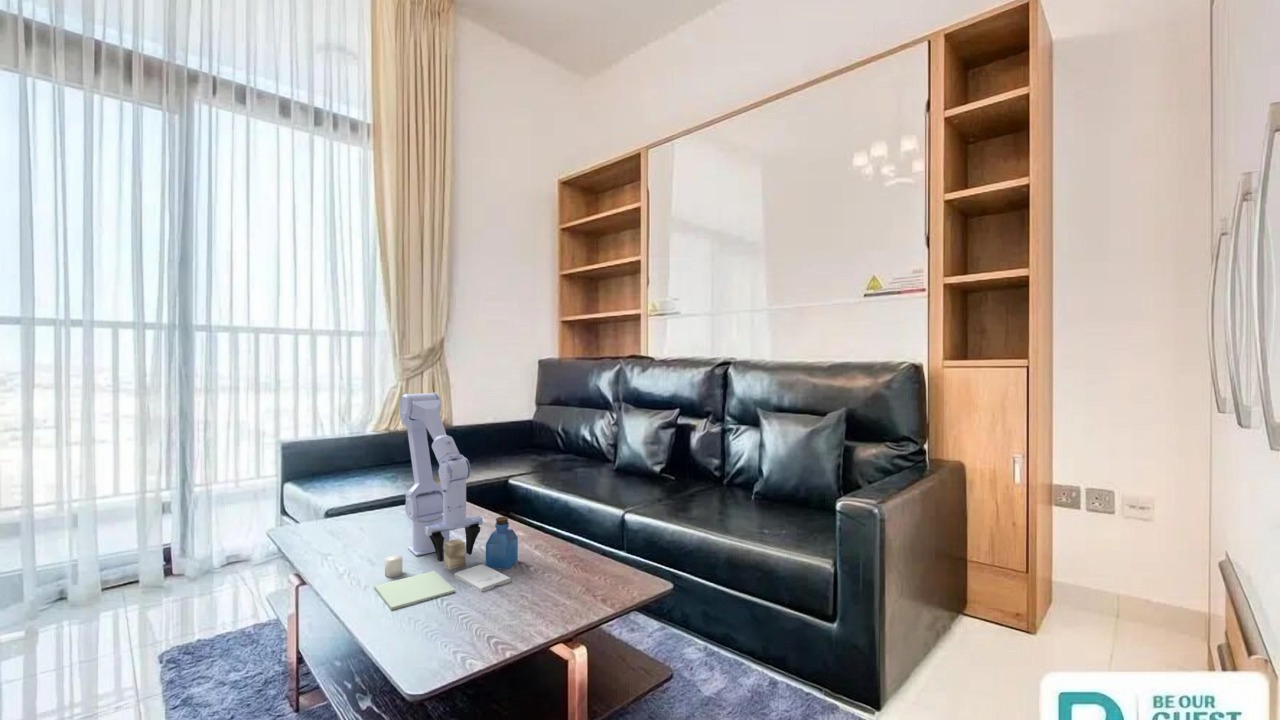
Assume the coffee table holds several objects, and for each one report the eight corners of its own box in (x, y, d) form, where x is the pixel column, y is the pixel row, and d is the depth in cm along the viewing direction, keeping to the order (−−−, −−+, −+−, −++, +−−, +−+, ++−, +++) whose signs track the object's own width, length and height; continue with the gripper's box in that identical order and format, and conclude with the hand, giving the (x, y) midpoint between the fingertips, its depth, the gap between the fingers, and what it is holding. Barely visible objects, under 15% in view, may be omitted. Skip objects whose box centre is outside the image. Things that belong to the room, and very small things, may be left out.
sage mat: (434, 573, 138) (434, 570, 138) (455, 592, 127) (455, 589, 127) (374, 588, 129) (374, 585, 129) (391, 610, 118) (391, 607, 118)
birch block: (459, 561, 146) (459, 538, 146) (465, 565, 143) (465, 542, 143) (444, 564, 144) (444, 542, 143) (449, 569, 140) (449, 546, 140)
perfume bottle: (485, 567, 142) (485, 521, 142) (495, 558, 148) (495, 514, 148) (508, 569, 141) (508, 523, 140) (517, 560, 147) (517, 515, 147)
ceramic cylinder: (399, 569, 140) (399, 554, 140) (404, 574, 137) (404, 558, 137) (383, 573, 138) (382, 557, 138) (387, 578, 135) (387, 562, 135)
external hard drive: (483, 569, 142) (511, 583, 133) (454, 579, 136) (481, 594, 127) (483, 563, 142) (511, 577, 133) (454, 572, 136) (481, 587, 127)
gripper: (431, 513, 135) (432, 568, 135) (487, 503, 145) (487, 554, 145) (422, 507, 141) (422, 560, 141) (476, 498, 150) (476, 547, 150)
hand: (454, 556), depth 143 cm, fingers open, 7 cm apart
